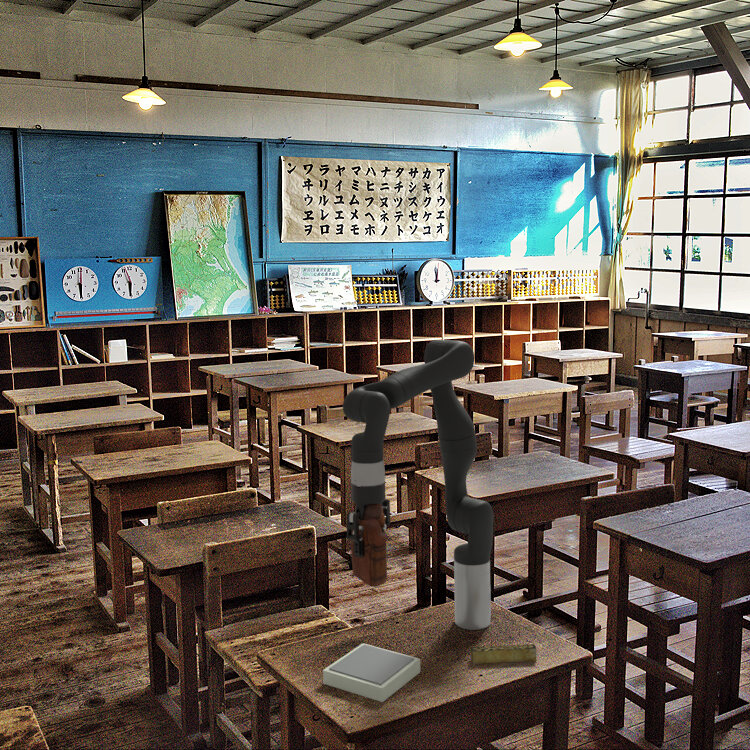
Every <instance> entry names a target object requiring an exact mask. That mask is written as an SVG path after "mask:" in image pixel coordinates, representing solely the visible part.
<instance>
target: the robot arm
mask: <svg viewBox="0 0 750 750" xmlns="http://www.w3.org/2000/svg"><path fill="white" fill-rule="evenodd" d="M474 353H475V352H474V349H473V347H472V346H471V345H470V344H469V343H467V342H465V341H462V340H452V339H434V340H431V341H430V342H428V344H427V345H426V347H425V350H424V363H423V364H419V365H415V366H410V367H407V368H404V369H401V370H398V371H397V372H394V373H392V374H391V375H389V376H386V377H385V378H383V379H382V380H380V381H376V382H372V383H369V384H366V385H362V386H359V387H356V388H354V389H352V390H351V391H350V392H349V393H348V394H347V395H346V396H345V397H344V400H343V403H342V412H343V414H344V416H345V417H346V418H347V419H348V420H350V421H353V422H358V423H364V424H365V428H364V431H362V432H358V433H355V434H354V435H353V436H352V438H351V442H350V443H351V465H350V466H351V467H350V486H351V489H350V490H351V501H352V503H354V504H355V507H356V510H355V509H354V511H355V512H354V511H353V512H347V513H346V539H347V540H353V541H354V555H355V556H356V557H360V558H362V557H364V541H363V540H364V529H363V527H362V526H359V521H360V519H362V521H363V520H364V514H365V510H366V508H367V506H368V505H374V504H380V505H381V506H382V508H383V514H384V516H385V526H384V528H382V533H385V534H386V529H387V526H390V524H391V503H390V502H391V500H390V499H388V498H387V499H386V469H385V462H384V439H385V435H386V432H387V427H388V424H389V420H390V416H391V410H392V409H396V408H398V407H400V406H401V405H403V404H405V403H407V402H408V401H410V400H412V399H413V398H415V397H417V396H420V395H421V394H423V393H425V392H427V391H430V393H431V397H432V402H433V407H434V413H435V419H436V426H437V435H438V444H439V448H440V449H439V450H440V454H441V460H442V461H441V462H442V467H443V468H442V470H443V479H444V494H445V512H446V520H447V523H448V525H449V527H450V528H451V529H452V530H454V531H456V532H459V533H462V534H466V535H468V542H466V543H462V544H460V545H457V546H456V547H455V548H454V550H453V564H454V565H453V568H454V569H453V576H454V579H453V580H454V581H453V582H454V583H453V585H454V586H453V587H454V624H455V625H456V626H457V627H459V628H461V629H464V630H468V631H474V630H475V631H476V630H483V629H486V628H488V627H489V626H490V625H491V619H492V617H491V615H492V614H491V612H492V611H491V609H492V605H491V602H492V601H491V600H492V599H491V595H492V594H491V591H492V588H491V587H492V586H491V560H490V559H491V552H492V549H493V541H494V540H493V537H494V535H493V534H494V511H493V507H492V505H491V504H490V503H489V502H488V501H486V500H482V499H478V498H473V497H470V496H469V494H468V489H467V475H468V474H469V471H470V469H471V467H472V465H473V463H474V460H475V458H476V455H477V450H478V445H477V444H478V443H477V439H476V438H477V436H476V428H475V425H474V422H473V420H472V419H471V416H470V415H469V413H468V412H467V410H466V408H465V407H464V406H463V404H462V403H461V402H460V400H459V398H458V396H457V395H456V392H455V390H454V386H453V382H452V381H456V380H459V379H463V378H465V377H466V376H468V375H469V374H470V372H471V371H472V369H473V368H474V364H475V354H474ZM360 517H361V518H360ZM352 530H354V531H353V534H352ZM359 531H361V533H360V535H359Z"/></svg>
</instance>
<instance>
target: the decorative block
mask: <svg viewBox="0 0 750 750" xmlns="http://www.w3.org/2000/svg"><path fill="white" fill-rule="evenodd" d="M470 660H471V663H472V664H493V663H494V664H495V663H497V664H498V663H516V662H519V663H520V662H535V661H537V647H536V645H535V644H513V645H511V644H509V645H495V646H494V645H488V646H486V645H484V646H471V647H470Z"/></svg>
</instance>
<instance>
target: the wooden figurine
mask: <svg viewBox="0 0 750 750" xmlns="http://www.w3.org/2000/svg"><path fill="white" fill-rule="evenodd" d="M355 510H356V506H355V507H354V511H353V513H354V512H355ZM360 518H361V517H360ZM385 519H386V515H384V514H383V508H382V506H381V505H380V504H374V505H368V506H367V508H366V510H365V514H364V520H363V521H362V519H360V521H359V526H362V527H363V529H364V540H363V541H364V557H362V558H360V557H356V556H355V555H354V541H353V540H351V541H350V552H351V565H352V566H351V567H352V574H353V576H354V577H356V578H357V579H359V580H360V581H362V582H363V583H364V584H366V585H368V586H369V587H373V588H376V587H380V586H381V585H384V584H385V583H386V582H387V579H388V572H387V571H388V564H387V562H388V557H387V556H388V553H387V551H388V548H387V535H386V532H385V533H382V528H384V526H385ZM353 531H354V530H352V534H353ZM360 533H361V531H359V535H360Z"/></svg>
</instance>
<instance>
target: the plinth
mask: <svg viewBox="0 0 750 750" xmlns="http://www.w3.org/2000/svg"><path fill="white" fill-rule="evenodd" d="M420 673H421V659H420V658H418V657H415V656H411V655H408V654H404V653H401V652H396V651H393V650H389V649H386V648H382V647H378V646H374V645H371V644H367V643H364V642H363V643H361V644H359V645H357V647H355V648H353V649H352V650H351V651H349V652H348V653H346V654H345V655H343V656H342V657H340V658H339V659H337V660H336V661H335V662H333V663H331V664H330V665H329V666H327V667H326V668H324V669H323V670H322V680H323V681H322V682H323V683H322V684H323V685H326V686H330V687H333V688H336V689H339V690H343V691H345V692H348V693H352V694H356V695H359V696H362V697H365V698H368V699H370V700H374V701H378V702H381V703H383V702H385V701H386V700H387V699H389V698H390V697H391V696H392V695H394V694H395V693H396V692H397V691H399V690H400V689H401V688H402V687H403V686H405V685H406V684H407V683H408V682H410V681H411V680H412V679H414V678H415V677H416V676H418V674H420Z"/></svg>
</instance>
